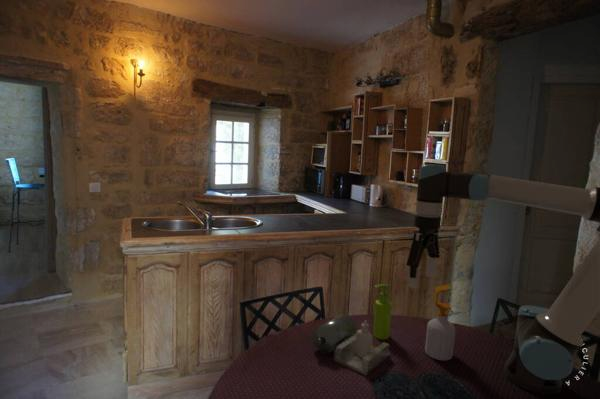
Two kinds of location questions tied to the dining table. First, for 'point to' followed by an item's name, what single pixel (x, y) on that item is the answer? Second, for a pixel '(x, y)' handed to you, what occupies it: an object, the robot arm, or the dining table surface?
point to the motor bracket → (347, 345)
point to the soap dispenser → (382, 314)
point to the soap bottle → (440, 331)
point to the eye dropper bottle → (363, 341)
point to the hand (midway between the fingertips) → (421, 282)
